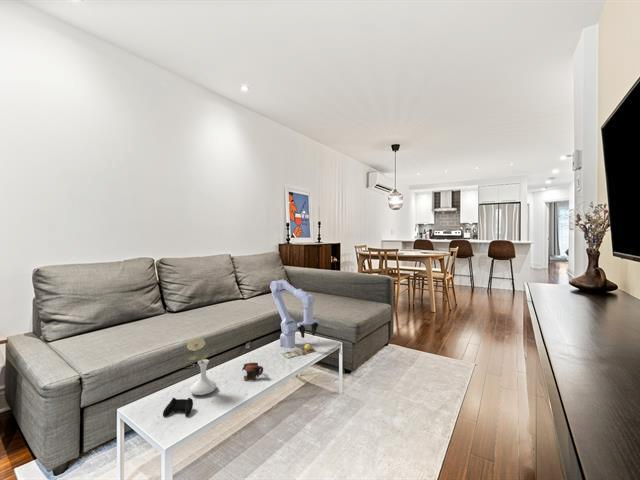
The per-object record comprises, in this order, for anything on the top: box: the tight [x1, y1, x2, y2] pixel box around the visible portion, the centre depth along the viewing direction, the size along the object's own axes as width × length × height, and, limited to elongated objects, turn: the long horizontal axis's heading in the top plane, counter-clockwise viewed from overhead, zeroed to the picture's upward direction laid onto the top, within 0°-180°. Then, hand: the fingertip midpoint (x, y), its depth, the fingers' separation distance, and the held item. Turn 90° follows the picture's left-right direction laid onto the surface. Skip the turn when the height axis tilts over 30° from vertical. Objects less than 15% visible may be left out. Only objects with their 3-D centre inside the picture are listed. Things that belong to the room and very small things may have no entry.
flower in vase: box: [186, 337, 217, 396], centre depth 140 cm, size 13×11×25 cm
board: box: [280, 345, 317, 360], centre depth 184 cm, size 20×9×4 cm, turn 124°
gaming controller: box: [162, 397, 194, 417], centre depth 124 cm, size 11×4×7 cm
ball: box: [303, 343, 312, 351], centre depth 187 cm, size 4×4×4 cm
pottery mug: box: [241, 362, 264, 382], centre depth 155 cm, size 12×10×8 cm
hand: (308, 336), depth 187 cm, fingers open, 7 cm apart
